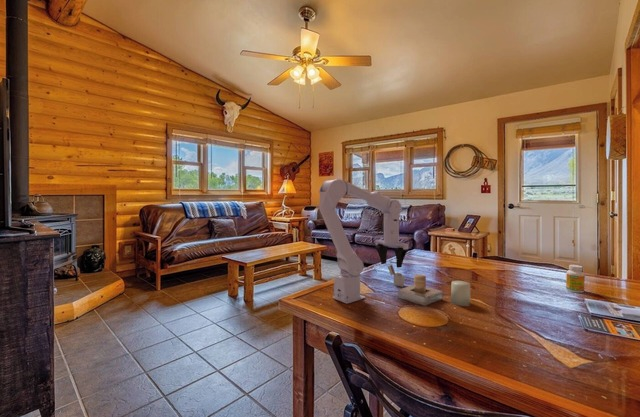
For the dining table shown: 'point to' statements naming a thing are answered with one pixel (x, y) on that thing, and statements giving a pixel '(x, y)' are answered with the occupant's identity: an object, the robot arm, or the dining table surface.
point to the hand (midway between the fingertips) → (391, 265)
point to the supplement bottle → (575, 279)
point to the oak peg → (420, 284)
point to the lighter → (396, 276)
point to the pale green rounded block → (460, 293)
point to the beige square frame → (420, 295)
